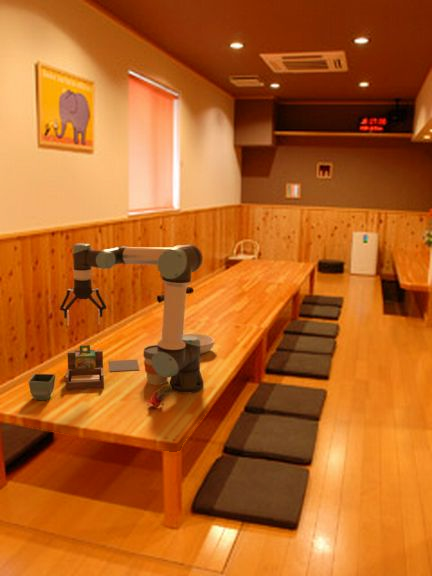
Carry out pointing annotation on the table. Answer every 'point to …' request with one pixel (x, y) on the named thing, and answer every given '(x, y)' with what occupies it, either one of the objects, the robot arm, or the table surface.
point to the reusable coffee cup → (151, 373)
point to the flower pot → (42, 386)
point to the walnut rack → (85, 373)
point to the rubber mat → (123, 365)
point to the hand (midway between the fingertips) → (83, 324)
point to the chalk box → (85, 358)
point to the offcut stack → (85, 378)
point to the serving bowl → (203, 342)
